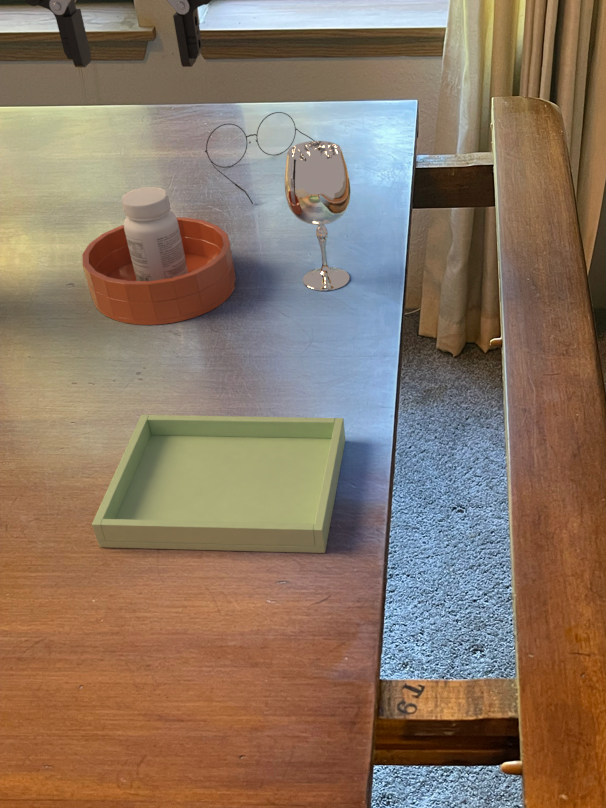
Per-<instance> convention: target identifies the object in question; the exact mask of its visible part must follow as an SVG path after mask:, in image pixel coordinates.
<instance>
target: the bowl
mask: <svg viewBox="0 0 606 808" xmlns="http://www.w3.org/2000/svg"><path fill="white" fill-rule="evenodd" d="M176 218H177V221H178V225H179V230H180V235H181V240H182V245H183V249H184V254H185V259H186V264H187V269H188V273H187V274H183V275H180V276H177V277H173V278H168V279H161V280H154V281H137V280H136V276H135V272H134V267H133V264H132V260H131V255H130V251H129V247H128V243H127V239H126V235H125V231H124V224H122V225H119V226H117V227H114V228H112V229H109V230H108V231H105V232H103V233H102V234H100V235H99V236H97V237H96V238H94V239H93V240H91V241H90V242H89V243H88V244H87V246H86V247H85V249H84V251H83V252H82V254H81V257H82V259H81V263H82V264H81V265H82V268H83V272H84V274H85V278H86V279H85V280H86V282H87V286H88V289H89V294H90V297H91V300H92V301H93V304H94V306H95V308H96V309H97V310H98V311H99V312H100V313H101V314H102V315H104V316H106V317H107V318H110V319H112V320H114V321H117V322H119V323H120V322H121V323H125V324H131V325H138V326H139V325H141V326H153V325H154V326H158V325H168V324H173V323H178V322H183V321H187V320H191V319H194V318H197V317H199V316H203V315H204V314H207V313H209V312H211V311H213V310H214V309H216V308H218V307H220V306H221V305H222V304H224V303H225V302H226V301H227V300H228V299H229V298H230V296H231V295H232V294H233V292H234V290H235V287H236V279H237V278H236V271H235V265H234V261H233V253H232V248H231V247H232V246H231V242H230V238H229V235H228V233H227V232H226V231H224V230H223V229H222V228H221V227H220V226H218V225H217V224H214V223H212V222H209V221H206V220H204V219H198V218H192V217H187V216H186V217H185V216H184V217H183V216H182V217H180V216H178V217H177V216H176Z"/></svg>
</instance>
